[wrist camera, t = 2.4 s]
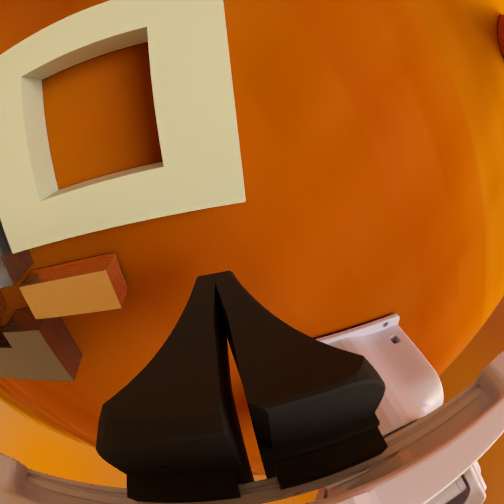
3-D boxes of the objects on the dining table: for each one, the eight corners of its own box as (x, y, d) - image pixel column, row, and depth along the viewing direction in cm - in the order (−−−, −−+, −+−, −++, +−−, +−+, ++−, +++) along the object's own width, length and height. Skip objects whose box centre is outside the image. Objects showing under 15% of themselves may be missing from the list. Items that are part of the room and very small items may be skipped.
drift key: (115, 252, 13) (106, 270, 11) (128, 288, 14) (121, 308, 12) (32, 270, 12) (18, 287, 10) (46, 301, 13) (36, 319, 11)
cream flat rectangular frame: (216, -3, 8) (220, -21, 6) (238, 190, 13) (245, 201, 11) (1, 72, 7) (-20, 69, 5) (29, 237, 11) (12, 253, 10)
